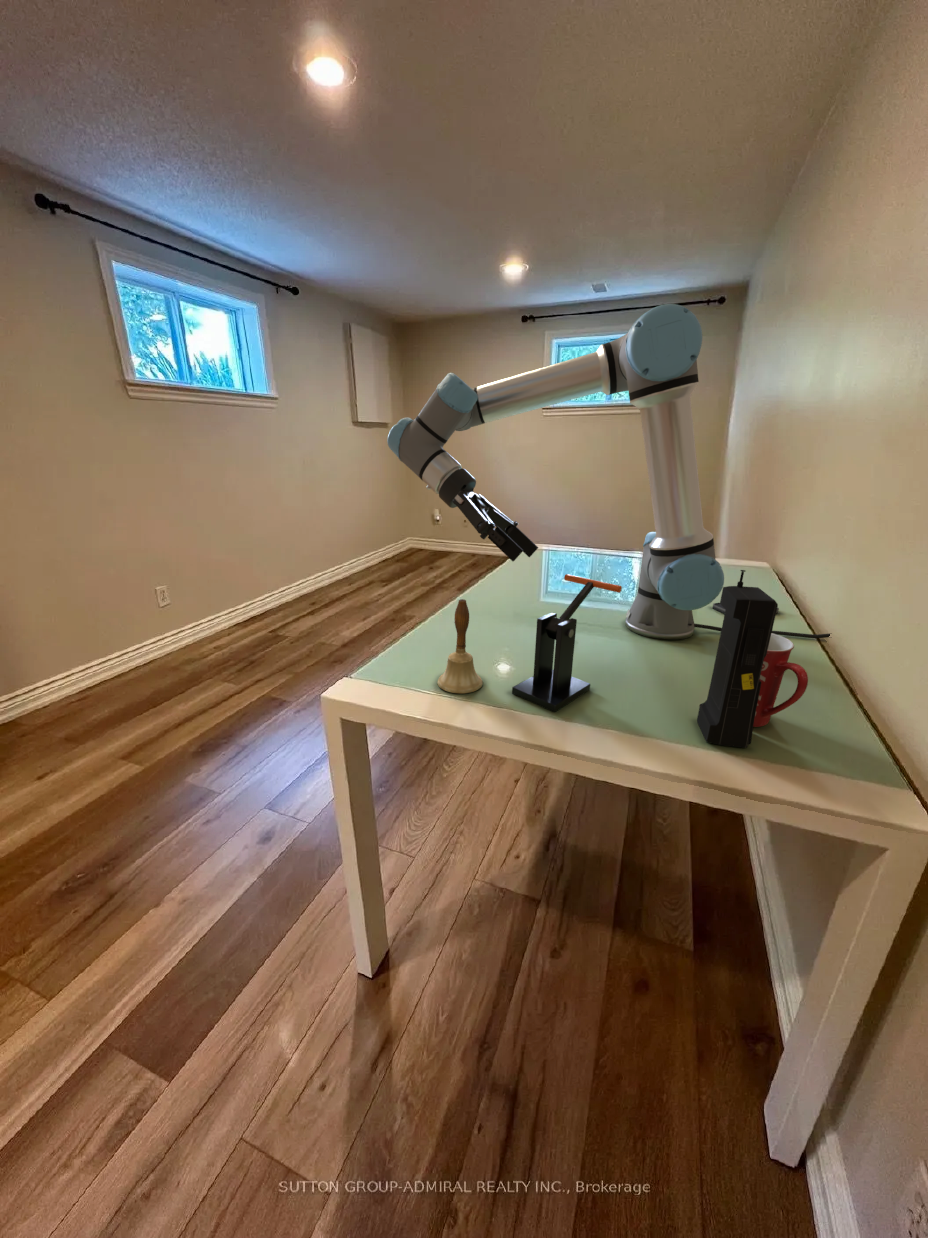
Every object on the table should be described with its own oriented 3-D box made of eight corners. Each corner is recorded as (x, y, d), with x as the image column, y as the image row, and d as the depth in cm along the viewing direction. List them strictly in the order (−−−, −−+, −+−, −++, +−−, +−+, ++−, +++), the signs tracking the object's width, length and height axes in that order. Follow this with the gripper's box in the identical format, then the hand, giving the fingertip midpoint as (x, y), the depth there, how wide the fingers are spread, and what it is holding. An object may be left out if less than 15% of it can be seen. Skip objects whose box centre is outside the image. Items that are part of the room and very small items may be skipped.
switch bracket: (548, 673, 94) (553, 605, 89) (589, 690, 88) (597, 617, 83) (511, 693, 86) (515, 620, 81) (554, 712, 80) (561, 634, 76)
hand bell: (472, 670, 95) (474, 591, 89) (489, 689, 87) (492, 605, 82) (431, 676, 92) (430, 595, 86) (445, 697, 85) (445, 610, 79)
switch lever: (568, 579, 92) (566, 570, 91) (622, 592, 85) (620, 581, 84) (527, 630, 87) (523, 621, 85) (581, 648, 79) (578, 638, 78)
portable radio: (753, 754, 70) (795, 586, 62) (708, 748, 71) (744, 583, 63) (736, 724, 77) (772, 570, 69) (696, 720, 78) (726, 568, 70)
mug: (699, 706, 83) (714, 631, 78) (741, 698, 85) (757, 625, 81) (763, 748, 71) (785, 664, 67) (809, 737, 74) (833, 656, 70)
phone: (711, 603, 132) (757, 599, 135) (710, 607, 132) (756, 603, 135) (732, 612, 124) (781, 608, 128) (732, 617, 125) (780, 612, 128)
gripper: (460, 499, 111) (527, 563, 108) (412, 492, 88) (496, 573, 85) (481, 473, 108) (551, 538, 105) (437, 458, 85) (525, 541, 82)
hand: (526, 554), depth 95 cm, fingers open, 13 cm apart
